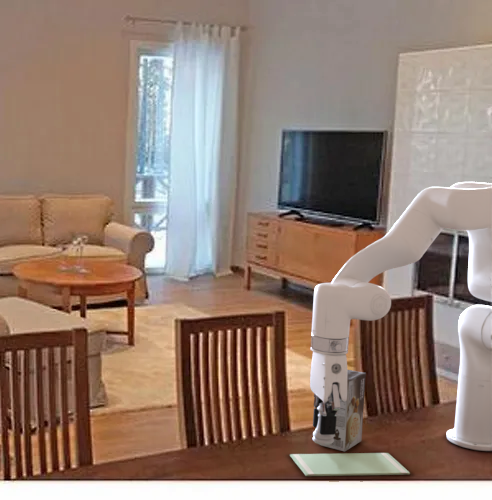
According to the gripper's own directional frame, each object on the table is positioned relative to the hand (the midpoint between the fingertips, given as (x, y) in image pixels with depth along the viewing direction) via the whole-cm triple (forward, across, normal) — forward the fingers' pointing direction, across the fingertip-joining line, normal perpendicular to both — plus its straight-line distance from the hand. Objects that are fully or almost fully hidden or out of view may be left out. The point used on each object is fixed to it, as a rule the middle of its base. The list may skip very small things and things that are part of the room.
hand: (323, 429), depth 174 cm
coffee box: (+8, +13, -9) cm, 18 cm away
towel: (+8, 0, -6) cm, 10 cm away
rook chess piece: (+3, 0, 0) cm, 3 cm away
